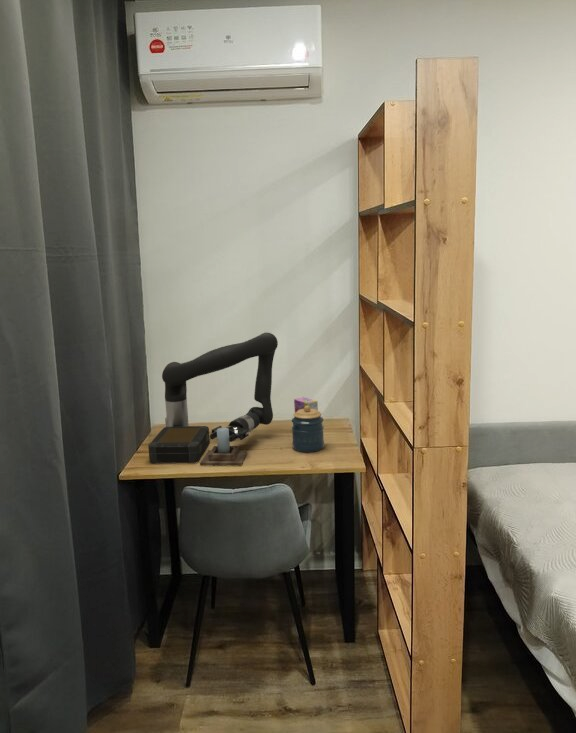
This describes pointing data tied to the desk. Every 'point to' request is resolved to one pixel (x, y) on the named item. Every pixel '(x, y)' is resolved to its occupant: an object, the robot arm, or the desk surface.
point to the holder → (224, 457)
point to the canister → (307, 430)
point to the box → (305, 403)
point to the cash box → (179, 444)
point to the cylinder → (223, 440)
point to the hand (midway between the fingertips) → (220, 438)
